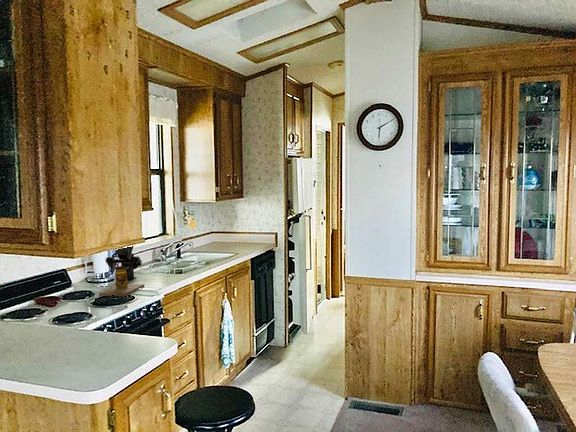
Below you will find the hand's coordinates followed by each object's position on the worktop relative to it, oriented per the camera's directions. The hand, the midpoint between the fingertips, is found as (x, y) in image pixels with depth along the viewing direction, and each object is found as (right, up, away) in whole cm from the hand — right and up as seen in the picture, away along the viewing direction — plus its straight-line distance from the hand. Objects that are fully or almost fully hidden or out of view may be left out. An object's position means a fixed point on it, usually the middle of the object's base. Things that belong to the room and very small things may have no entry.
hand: (120, 274), depth 275 cm
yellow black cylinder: (0, -8, +2) cm, 8 cm away
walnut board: (0, -9, +2) cm, 10 cm away
